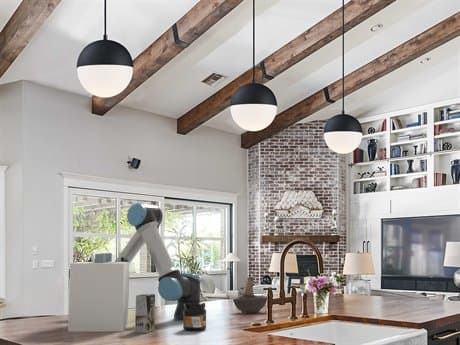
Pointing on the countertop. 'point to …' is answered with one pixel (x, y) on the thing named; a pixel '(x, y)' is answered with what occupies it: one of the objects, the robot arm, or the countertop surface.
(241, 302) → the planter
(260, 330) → the countertop surface
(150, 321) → the coffee box
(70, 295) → the shelf unit
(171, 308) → the countertop surface
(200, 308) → the supplement container
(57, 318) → the countertop surface
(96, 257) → the slate carton
